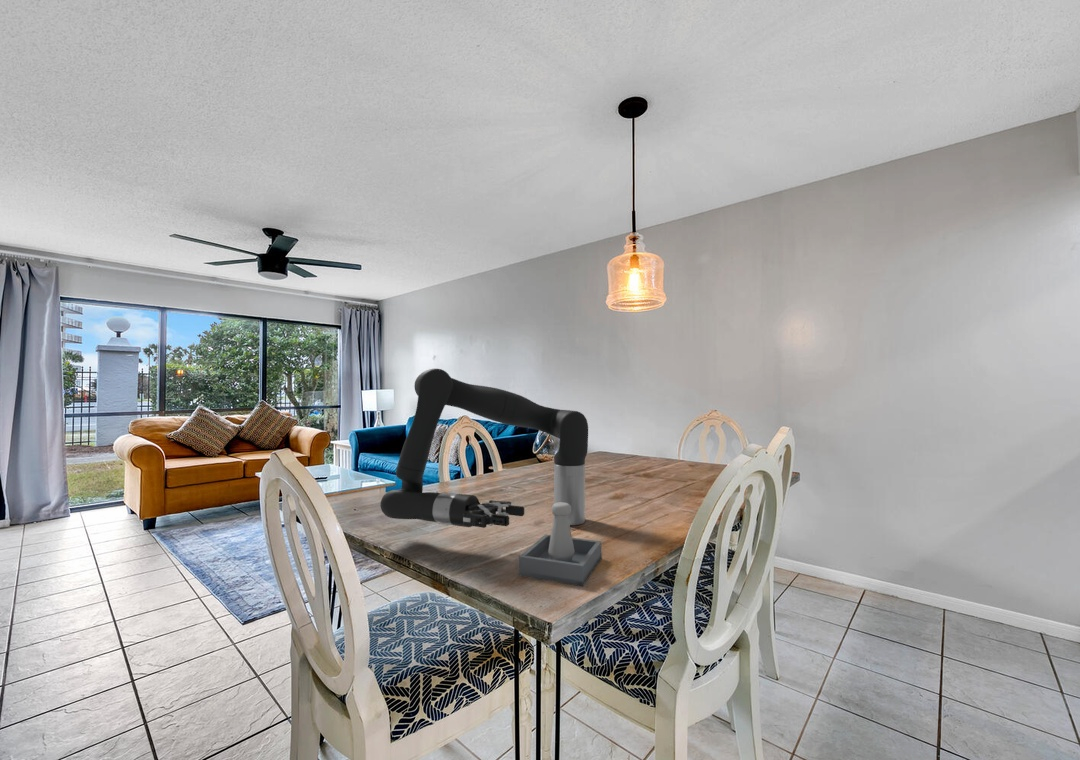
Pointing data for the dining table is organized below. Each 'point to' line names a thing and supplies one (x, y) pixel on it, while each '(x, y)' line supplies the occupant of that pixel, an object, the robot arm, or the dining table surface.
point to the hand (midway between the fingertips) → (516, 516)
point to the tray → (560, 562)
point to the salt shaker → (561, 534)
